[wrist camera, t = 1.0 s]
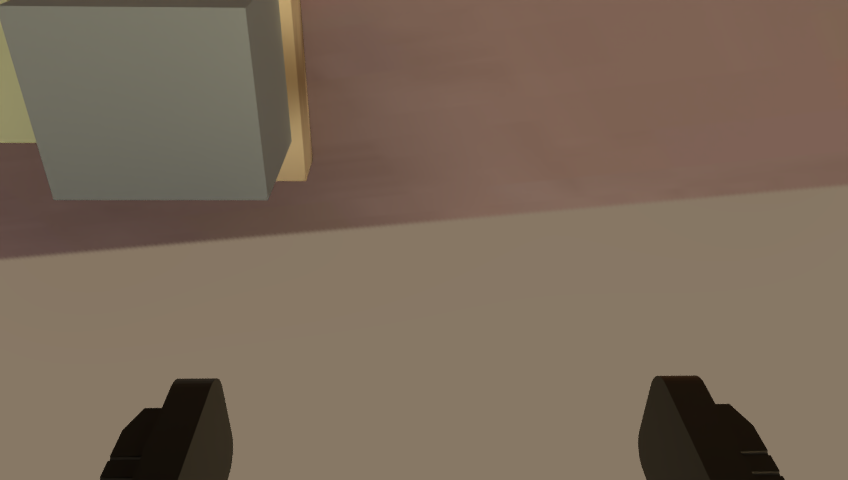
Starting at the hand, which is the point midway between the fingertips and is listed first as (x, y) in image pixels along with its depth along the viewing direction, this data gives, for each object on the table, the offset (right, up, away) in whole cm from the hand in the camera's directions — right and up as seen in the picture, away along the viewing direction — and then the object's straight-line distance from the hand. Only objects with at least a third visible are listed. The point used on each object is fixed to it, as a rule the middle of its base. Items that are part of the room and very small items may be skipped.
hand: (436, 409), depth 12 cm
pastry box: (-10, +11, +16) cm, 22 cm away
